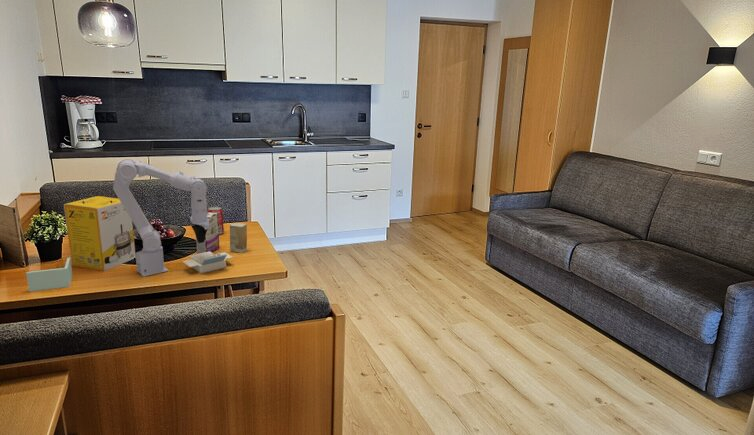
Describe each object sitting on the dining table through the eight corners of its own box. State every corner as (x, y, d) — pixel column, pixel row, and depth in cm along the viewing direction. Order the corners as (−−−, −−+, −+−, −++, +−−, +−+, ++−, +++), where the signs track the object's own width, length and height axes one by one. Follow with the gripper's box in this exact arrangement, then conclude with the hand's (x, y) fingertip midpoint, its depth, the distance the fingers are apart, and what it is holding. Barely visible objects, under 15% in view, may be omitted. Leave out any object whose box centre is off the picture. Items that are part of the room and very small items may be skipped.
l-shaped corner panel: (72, 276, 185) (70, 257, 183) (69, 288, 175) (67, 268, 173) (34, 280, 180) (31, 261, 178) (29, 293, 170) (26, 272, 168)
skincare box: (229, 251, 216) (228, 225, 213) (234, 248, 221) (233, 222, 217) (243, 253, 215) (242, 226, 212) (247, 250, 219) (247, 223, 216)
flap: (201, 264, 191) (201, 265, 191) (204, 258, 188) (204, 259, 188) (223, 259, 197) (223, 260, 197) (226, 254, 194) (226, 255, 194)
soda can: (227, 233, 241) (225, 208, 238) (215, 236, 235) (213, 210, 232) (217, 230, 245) (215, 205, 241) (205, 234, 239) (203, 208, 236)
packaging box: (105, 252, 209) (98, 195, 203) (136, 258, 205) (130, 199, 198) (71, 265, 194) (63, 204, 188) (104, 271, 190) (96, 208, 183)
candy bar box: (209, 247, 221) (207, 212, 217) (219, 248, 220) (218, 212, 216) (196, 255, 211) (193, 218, 206) (206, 256, 210) (204, 219, 205)
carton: (191, 275, 189) (190, 262, 187) (178, 266, 198) (177, 253, 196) (234, 265, 200) (233, 252, 199) (220, 257, 209) (219, 244, 208)
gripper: (217, 212, 191) (218, 245, 194) (201, 204, 201) (203, 236, 205) (199, 214, 186) (201, 248, 190) (184, 206, 196) (186, 239, 200)
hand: (201, 242), depth 197 cm, fingers closed
